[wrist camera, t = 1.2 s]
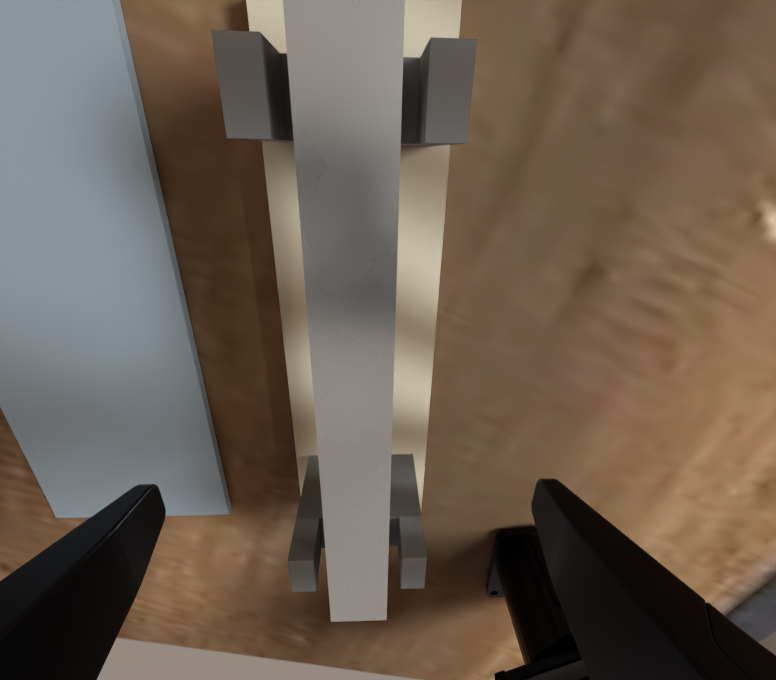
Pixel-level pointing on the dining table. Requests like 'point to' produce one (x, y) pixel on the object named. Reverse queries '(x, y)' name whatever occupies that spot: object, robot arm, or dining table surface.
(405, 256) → the rail stand
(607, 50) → the dining table surface
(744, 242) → the dining table surface
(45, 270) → the mat
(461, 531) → the dining table surface
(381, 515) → the rail
